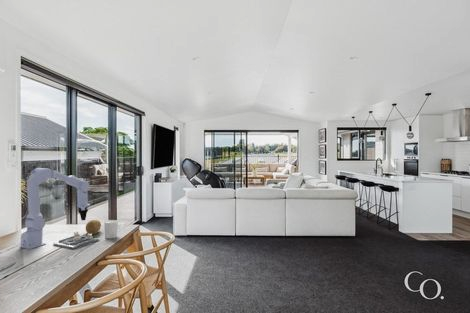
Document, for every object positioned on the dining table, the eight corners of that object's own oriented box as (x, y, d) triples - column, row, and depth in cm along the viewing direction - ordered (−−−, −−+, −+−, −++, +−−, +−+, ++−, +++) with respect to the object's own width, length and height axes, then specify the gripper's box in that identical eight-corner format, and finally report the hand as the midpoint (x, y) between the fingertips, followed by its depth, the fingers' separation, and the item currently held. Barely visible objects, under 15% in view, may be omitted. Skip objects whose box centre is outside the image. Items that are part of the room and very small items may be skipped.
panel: (73, 249, 151) (74, 240, 151) (53, 245, 156) (53, 236, 156) (98, 240, 167) (99, 232, 167) (79, 237, 172) (79, 229, 172)
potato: (102, 229, 190) (102, 216, 190) (98, 236, 175) (98, 222, 175) (88, 230, 187) (88, 216, 187) (83, 237, 172) (83, 222, 172)
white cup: (114, 234, 180) (115, 219, 180) (119, 237, 174) (120, 221, 174) (102, 236, 175) (102, 221, 174) (106, 239, 169) (107, 223, 169)
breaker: (76, 241, 160) (76, 235, 160) (73, 241, 161) (73, 234, 161) (80, 240, 163) (80, 234, 163) (77, 239, 163) (77, 233, 163)
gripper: (89, 199, 175) (90, 220, 176) (89, 195, 187) (89, 215, 188) (77, 201, 171) (78, 222, 172) (77, 196, 184) (78, 216, 185)
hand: (83, 218), depth 180 cm, fingers open, 7 cm apart
